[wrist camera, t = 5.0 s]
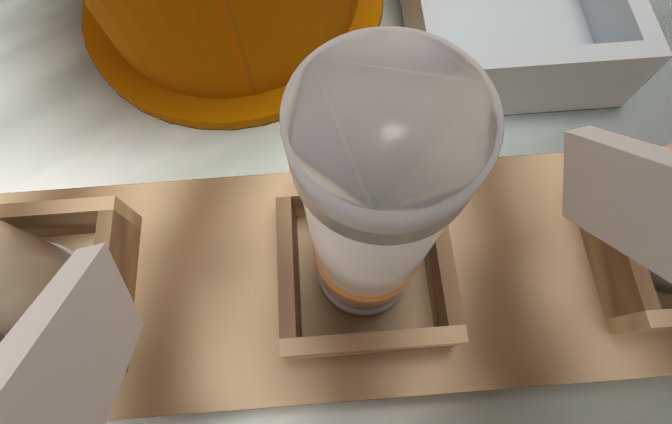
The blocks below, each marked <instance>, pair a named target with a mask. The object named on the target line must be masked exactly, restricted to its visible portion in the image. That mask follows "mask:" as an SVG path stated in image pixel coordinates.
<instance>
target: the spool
mask: <svg viewBox="0 0 672 424" xmlns="http://www.w3.org/2000/svg"><path fill="white" fill-rule="evenodd" d="M382 11H383V0H83V12H82V29H83V34H84V39H85V44H86V48H87V50H88V52H89V54H90V56H91V58H92V60H93V62H94V64H95V66H96V68H97V70H98V71H99V72H100V73H101V75H102V76H103V77H104V78H105V79H106V81H107V82H108V83H109V84H110V85H111V86H112V87H113V88H114V89H115V91H116V92H117V93H118V94H119V95H120V96H121V97H122V98H124V99H125V100H127V101H128V102H130V103H131V104H133V105H134V106H135V107H137V108H138V109H140V110H141V111H143V112H145V113H147V114H150V115H152V116H155V117H157V118H159V119H162V120H164V121H167V122H169V123H173V124H178V125H183V126H188V127H193V128H198V129H221V130H234V129H241V128H248V127H255V126H262V125H266V124H270V123H273V122H276V121H279V120H280V107H281V102H282V97H283V94H284V91H285V88H286V86H287V84H288V82H289V80H290V78H291V76H292V74H293V73H294V72H295V70H296V69H297V67H298V66H299V65H300V64H301V63H302V61H303V60H304V59H305V58H306V57H307V56H308V55H309V54H311V53H312V52H313V51H314V50H316V49H317V48H318V47H320V46H321V45H323V44H324V43H326V42H328V41H329V40H331V39H333V38H336V37H338V36H340V35H342V34H345V33H348V32H351V31H354V30H359V29H363V28H369V27H377V26H380V22H381V18H382Z"/></svg>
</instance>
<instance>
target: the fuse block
mask: <svg viewBox="0 0 672 424" xmlns="http://www.w3.org/2000/svg"><path fill="white" fill-rule="evenodd" d="M659 146H662V147H666V148H669V149H672V145H659ZM563 174H564V152H562V153H549V154H535V155H521V156H508V157H498V158H497V160H496V162H495V164H494V166H493V168H492V169H491V171H490V172H489V174H488V175H487V177H486V178H485V179H484V181H483V182H482V184H481V185H480V186H479V188H478V189H477V191H476V192H475V193H474V195H473V196H472V198H471V199H470V201H469V202H468V203H467V205H466V206H465V208H464V209H463V210H462V212H461V213H460V214H459V215H458V216H457V217H456V218H455V219H454V220H453V221H452V222H451V223H450V224H449V225H447V226H446V227H445V228H444V229H443V231H442V232H441V234H440V235H439V237H438V238H437V240H436V241H435V243H434V244H433V246H432V247H431V249H430V250H429V252H428V253H427V255H426V256H425V258H424V259H423V261H422V262H421V264H420V266H419V268H418V270H417V272H416V274H415V275H414V277H413V278H412V280H411V281H410V282H409V285H408V287H407V289H406V291H405V292H404V293H403V295H402V296H401V298H400V299H399V300H398V302H397V303H396V304H395V305H394V306H393V307H392V308H391V309H389V310H388V311H386V312H384V313H382V314H380V315H377V316H374V317H368V318H359V317H353V316H349V315H347V314H344V313H342V312H341V311H339V310H337V309H336V308H335V307H333V306H332V305H331V304H330V303H329V301H328V300H327V299H326V297H325V296H324V294H323V292H322V290H321V287H320V283H319V280H318V276H317V270H316V262H315V258H314V254H313V243H312V239H311V235H310V230H309V226H308V222H307V218H306V213H305V209H304V205H303V201H302V200H301V198H300V197H299V195H298V193H297V190H296V188H295V186H294V183H293V179H292V175H291V172H289V173H275V174H262V175H248V176H234V177H221V178H207V179H194V180H180V181H166V182H153V183H139V184H125V185H112V186H98V187H84V188H71V189H57V190H43V191H30V192H16V193H2V194H0V220H1V221H3V222H6V223H8V224H10V225H12V226H14V227H17V228H19V229H21V230H23V231H25V232H27V233H30V234H32V235H34V236H36V237H38V238H41V239H43V240H45V241H47V242H49V243H56V244H59V245H62V246H64V247H66V248H68V249H71V250H73V251H75V250H76V249H80V248H84V247H88V246H92V245H96V244H100V243H104V242H106V244H107V247H108V249H109V251H110V253H111V255H112V257H113V259H114V261H115V264H116V266H117V268H118V270H119V272H120V274H121V276H122V278H123V281H124V283H125V285H126V287H127V289H128V291H129V293H130V295H131V298H132V300H133V302H134V304H135V306H136V308H137V310H138V312H139V315H140V317H141V319H142V321H143V323H144V325H143V328H142V330H141V333H140V335H139V338H138V341H137V343H136V346H135V349H134V351H133V354H132V356H131V359H130V362H129V364H128V367H127V369H126V372H125V375H124V377H123V380H122V383H121V385H120V388H119V390H118V393H117V396H116V398H115V401H114V404H113V406H112V409H111V411H110V414H109V417H108V419H107V420H117V419H129V418H142V417H155V416H167V415H180V414H193V413H206V412H218V411H231V410H244V409H256V408H269V407H282V406H294V405H307V404H320V403H332V402H345V401H358V400H371V399H383V398H396V397H409V396H421V395H434V394H447V393H459V392H472V391H485V390H498V389H510V388H523V387H536V386H548V385H561V384H574V383H586V382H599V381H612V380H625V379H637V378H650V377H663V376H672V294H670V293H664V292H660V291H657V290H655V287H654V284H653V281H652V278H651V275H650V272H649V269H647V268H646V267H644V266H642V265H641V264H639V263H637V262H636V261H634V260H633V259H631V258H629V257H628V256H626V255H625V254H623V253H621V252H620V251H618V250H616V249H615V248H613V247H612V246H610V245H608V244H607V243H605V242H603V241H602V240H600V239H599V238H597V237H595V236H594V235H592V234H590V233H589V232H587V231H586V230H584V229H582V228H581V227H579V226H577V225H576V224H574V223H573V222H571V221H569V220H568V219H566V218H564V217H563V216H562V207H563ZM4 337H5V335H3V334H0V342H1V341H2V340H3V339H4Z"/></svg>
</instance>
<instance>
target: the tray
mask: <svg viewBox="0 0 672 424" xmlns="http://www.w3.org/2000/svg"><path fill="white" fill-rule="evenodd" d="M400 4H401V10H402V16H403V22H404V27H407V28H413V29H418V30H422V31H425V32H429V33H432V34H434V35H437V36H439V37H442V38H444V39H446V40H448V41H449V42H451V43H453V44H455V45H457V46H458V47H459V48H461V49H462V50H464V51H465V52H467V53H468V54H469V55H470V56H471V57H472V58H473V59H474V60H476V61H477V62H478V64H479V65H480V66H481V67H482V68H483V69H484V70H485V72H486V73H487V75H488V76H489V78H490V79H491V81H492V82H493V84H494V86H495V88H496V90H497V92H498V95H499V98H500V101H501V104H502V109H503V115H513V114H527V113H541V112H555V111H569V110H582V109H596V108H610V107H621V106H622V105H623V104H624V103H625V102H626V101H627V100H628V99H629V98H630V97H631V96H632V95H633V94H634V93H636V92H637V91H638V90H639V89H640V88H641V87H642V86H643V85H644V84H645V83H646V82H647V81H648V80H649V79H650V78H651V77H652V76H653V75H654V74H655V73H656V72H657V71H658V70H659V69H660V68H661V67H662V66H663V65H664V64H665V63H666V62H667V61H668V60H669V59H670V58H671V57H672V53H671V50H670V48H669V46H668V43H667V41H666V39H665V36H664V34H663V32H662V29H661V27H660V25H659V23H658V20H657V18H656V16H655V13H654V11H653V9H652V6H651V4H650V2H649V0H400Z"/></svg>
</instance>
